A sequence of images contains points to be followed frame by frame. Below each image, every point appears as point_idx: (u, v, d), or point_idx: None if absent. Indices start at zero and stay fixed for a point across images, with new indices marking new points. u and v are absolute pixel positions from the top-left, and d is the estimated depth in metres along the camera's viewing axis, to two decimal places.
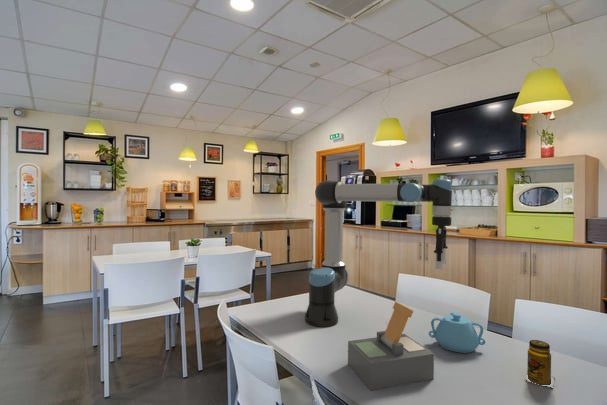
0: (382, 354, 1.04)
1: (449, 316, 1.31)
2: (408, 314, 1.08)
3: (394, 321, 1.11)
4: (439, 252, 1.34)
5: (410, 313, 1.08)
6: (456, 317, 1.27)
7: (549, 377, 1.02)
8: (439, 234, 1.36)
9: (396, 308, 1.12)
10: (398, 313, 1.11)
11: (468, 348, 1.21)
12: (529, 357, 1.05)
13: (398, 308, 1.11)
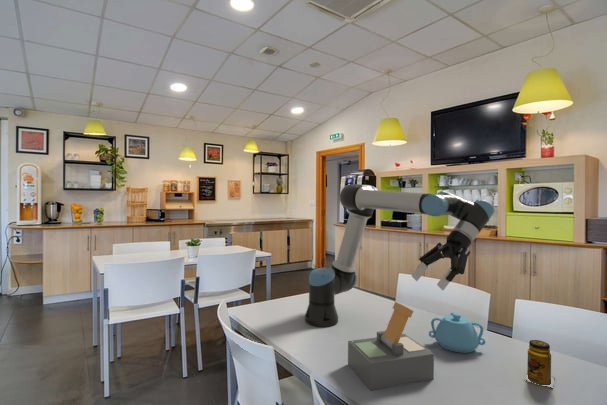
0: (382, 354, 1.04)
1: (449, 316, 1.31)
2: (408, 314, 1.08)
3: (394, 321, 1.11)
4: (458, 272, 1.07)
5: (410, 313, 1.08)
6: (456, 317, 1.27)
7: (549, 377, 1.02)
8: (464, 254, 1.11)
9: (396, 308, 1.12)
10: (398, 313, 1.11)
11: (468, 348, 1.21)
12: (529, 357, 1.05)
13: (398, 308, 1.11)
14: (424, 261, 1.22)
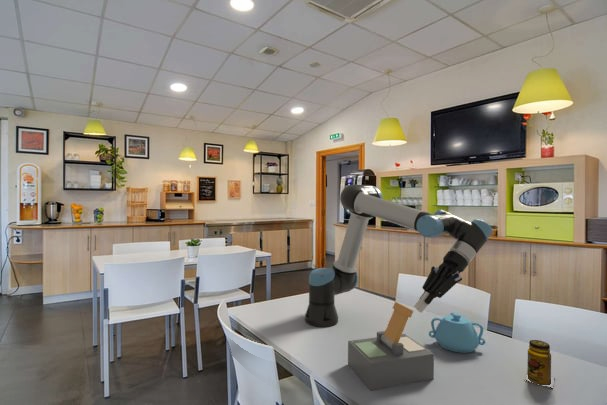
0: (382, 354, 1.04)
1: (449, 316, 1.31)
2: (408, 314, 1.08)
3: (394, 321, 1.11)
4: (436, 296, 1.11)
5: (410, 313, 1.08)
6: (456, 317, 1.27)
7: (549, 377, 1.02)
8: (453, 280, 1.10)
9: (396, 308, 1.12)
10: (398, 313, 1.11)
11: (468, 348, 1.21)
12: (529, 357, 1.05)
13: (398, 308, 1.11)
14: (428, 289, 1.14)
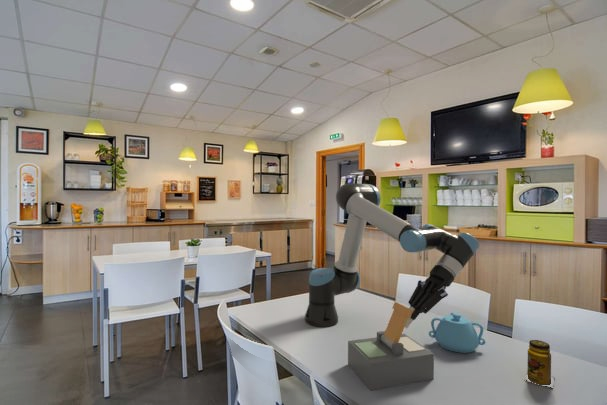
0: (382, 354, 1.04)
1: (449, 316, 1.31)
2: (407, 314, 1.07)
3: (394, 321, 1.11)
4: (422, 311, 1.09)
5: (410, 313, 1.08)
6: (456, 317, 1.27)
7: (549, 377, 1.02)
8: (439, 295, 1.09)
9: (396, 308, 1.12)
10: (398, 313, 1.10)
11: (468, 348, 1.21)
12: (529, 357, 1.05)
13: (398, 308, 1.11)
14: (414, 304, 1.13)
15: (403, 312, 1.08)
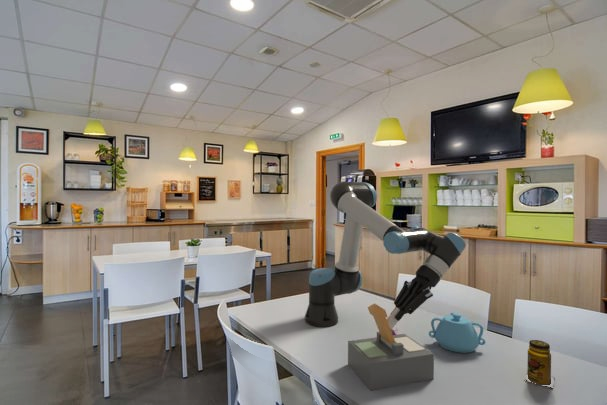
0: (382, 354, 1.04)
1: (449, 316, 1.31)
2: (383, 316, 1.05)
3: (379, 325, 1.09)
4: (407, 312, 1.08)
5: (384, 314, 1.05)
6: (456, 317, 1.27)
7: (549, 377, 1.02)
8: (424, 296, 1.07)
9: (372, 314, 1.09)
10: (376, 317, 1.08)
11: (468, 348, 1.21)
12: (529, 357, 1.05)
13: (373, 314, 1.08)
14: (399, 304, 1.11)
15: (378, 318, 1.05)
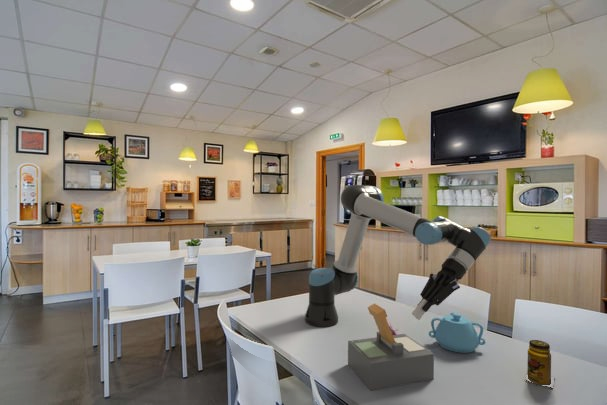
0: (382, 354, 1.04)
1: (449, 316, 1.31)
2: (383, 316, 1.05)
3: (379, 325, 1.09)
4: (434, 303, 1.11)
5: (384, 314, 1.05)
6: (456, 317, 1.27)
7: (549, 377, 1.02)
8: (451, 287, 1.10)
9: (372, 314, 1.09)
10: (376, 317, 1.08)
11: (468, 348, 1.21)
12: (529, 357, 1.05)
13: (373, 314, 1.08)
14: (426, 296, 1.14)
15: (378, 318, 1.05)
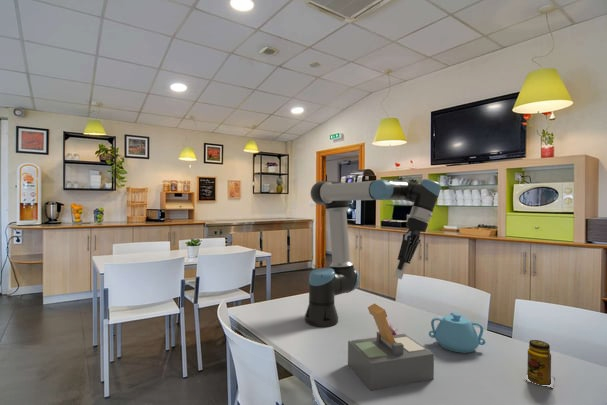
0: (382, 354, 1.04)
1: (449, 316, 1.31)
2: (383, 316, 1.05)
3: (379, 325, 1.09)
4: (401, 260, 1.26)
5: (384, 314, 1.05)
6: (456, 317, 1.27)
7: (549, 377, 1.02)
8: (405, 240, 1.24)
9: (372, 314, 1.09)
10: (376, 317, 1.08)
11: (468, 348, 1.21)
12: (529, 357, 1.05)
13: (373, 314, 1.08)
14: None
15: (378, 318, 1.05)
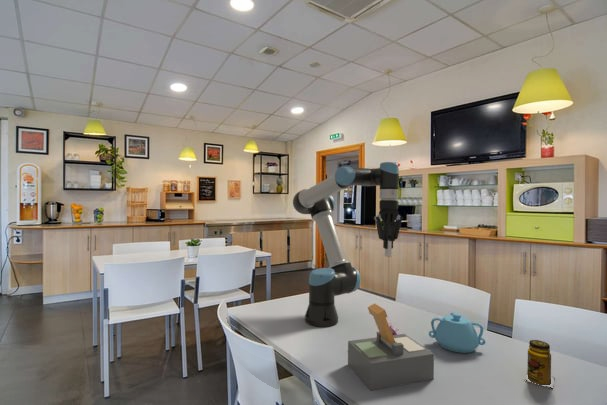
0: (382, 354, 1.04)
1: (449, 316, 1.31)
2: (383, 316, 1.05)
3: (379, 325, 1.09)
4: (382, 239, 1.38)
5: (384, 314, 1.05)
6: (456, 317, 1.27)
7: (549, 377, 1.02)
8: (377, 222, 1.38)
9: (372, 314, 1.09)
10: (376, 317, 1.08)
11: (468, 348, 1.21)
12: (529, 357, 1.05)
13: (373, 314, 1.08)
14: (388, 237, 1.40)
15: (378, 318, 1.05)
